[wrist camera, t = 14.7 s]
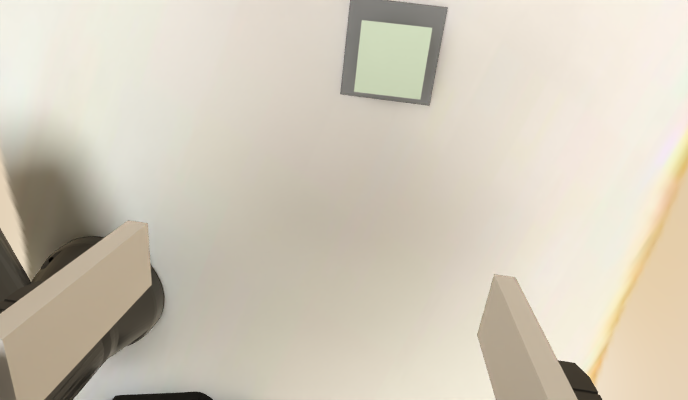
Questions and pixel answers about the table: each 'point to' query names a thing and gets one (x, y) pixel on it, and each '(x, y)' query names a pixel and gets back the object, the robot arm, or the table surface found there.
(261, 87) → the table surface
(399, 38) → the block
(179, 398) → the sign
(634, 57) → the table surface
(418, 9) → the mat
